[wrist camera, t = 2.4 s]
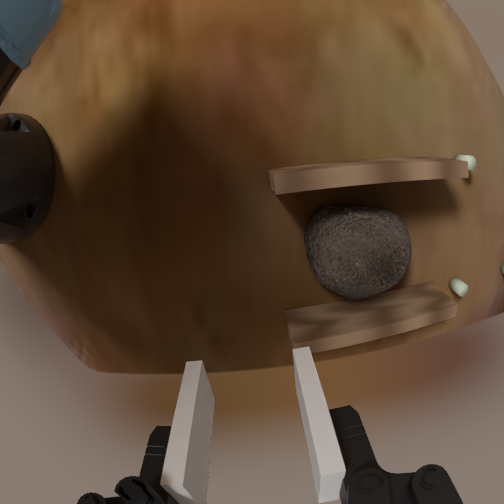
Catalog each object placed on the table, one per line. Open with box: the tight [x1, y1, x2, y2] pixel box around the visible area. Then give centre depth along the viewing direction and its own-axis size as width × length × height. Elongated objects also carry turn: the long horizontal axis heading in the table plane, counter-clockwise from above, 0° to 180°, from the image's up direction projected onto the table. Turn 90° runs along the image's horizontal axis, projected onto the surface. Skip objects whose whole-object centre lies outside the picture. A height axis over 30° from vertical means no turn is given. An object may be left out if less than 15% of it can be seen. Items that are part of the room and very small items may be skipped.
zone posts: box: [449, 154, 504, 297], centre depth 27 cm, size 13×17×2 cm
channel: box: [267, 157, 468, 353], centre depth 26 cm, size 18×16×6 cm
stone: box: [304, 206, 411, 299], centre depth 27 cm, size 10×8×10 cm
